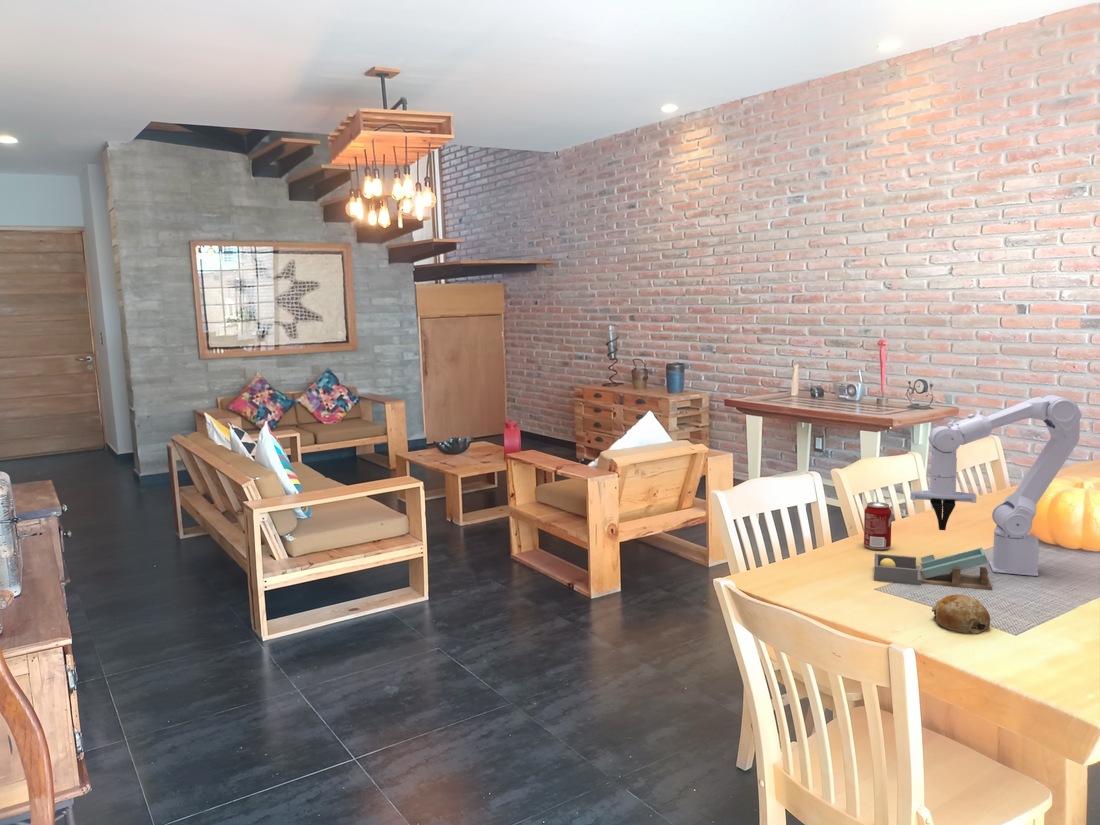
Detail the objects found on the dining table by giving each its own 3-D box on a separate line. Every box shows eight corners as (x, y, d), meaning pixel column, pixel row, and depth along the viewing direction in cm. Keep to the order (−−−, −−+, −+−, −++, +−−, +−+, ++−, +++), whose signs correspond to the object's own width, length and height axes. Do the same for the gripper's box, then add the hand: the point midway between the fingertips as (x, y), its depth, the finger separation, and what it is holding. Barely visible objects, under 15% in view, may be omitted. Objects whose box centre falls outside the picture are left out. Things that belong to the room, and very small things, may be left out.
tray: (919, 571, 193) (919, 557, 193) (921, 585, 184) (921, 570, 183) (874, 567, 197) (874, 553, 197) (874, 580, 188) (874, 566, 187)
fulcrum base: (987, 578, 186) (988, 561, 186) (991, 589, 179) (992, 572, 179) (919, 572, 192) (920, 556, 192) (921, 583, 185) (921, 566, 184)
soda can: (886, 552, 209) (888, 508, 207) (860, 548, 213) (861, 505, 211) (893, 546, 214) (894, 503, 212) (867, 542, 218) (868, 500, 216)
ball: (883, 572, 193) (898, 567, 192) (883, 577, 190) (898, 572, 189) (876, 559, 193) (891, 554, 192) (876, 563, 190) (891, 558, 189)
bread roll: (955, 652, 156) (972, 623, 152) (917, 615, 164) (932, 586, 160) (990, 642, 160) (1007, 614, 156) (951, 606, 168) (966, 578, 164)
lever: (981, 545, 193) (978, 537, 193) (988, 562, 180) (985, 554, 180) (921, 560, 199) (918, 553, 199) (924, 578, 185) (921, 570, 185)
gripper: (974, 473, 194) (973, 526, 196) (910, 471, 200) (909, 523, 202) (978, 479, 188) (976, 534, 190) (911, 476, 194) (910, 530, 195)
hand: (942, 529), depth 195 cm, fingers closed
